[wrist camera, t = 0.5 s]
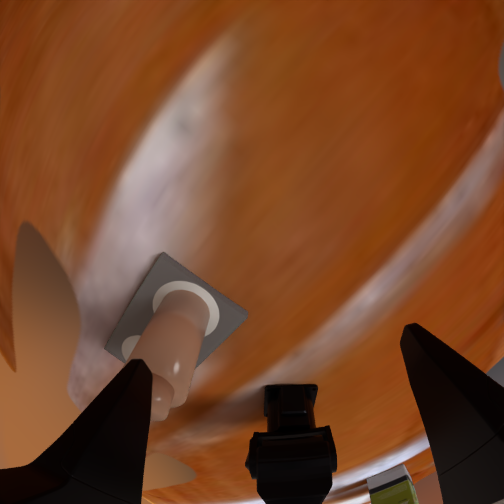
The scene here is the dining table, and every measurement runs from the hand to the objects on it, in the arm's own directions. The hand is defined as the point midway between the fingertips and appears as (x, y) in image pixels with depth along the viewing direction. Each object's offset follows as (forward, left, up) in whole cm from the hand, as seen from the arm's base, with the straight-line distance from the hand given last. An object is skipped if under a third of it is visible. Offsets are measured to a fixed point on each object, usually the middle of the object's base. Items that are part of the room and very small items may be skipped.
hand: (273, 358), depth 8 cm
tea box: (-64, -33, -17) cm, 74 cm away
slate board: (-12, +11, -17) cm, 23 cm away
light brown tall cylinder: (-9, +8, -15) cm, 19 cm away
